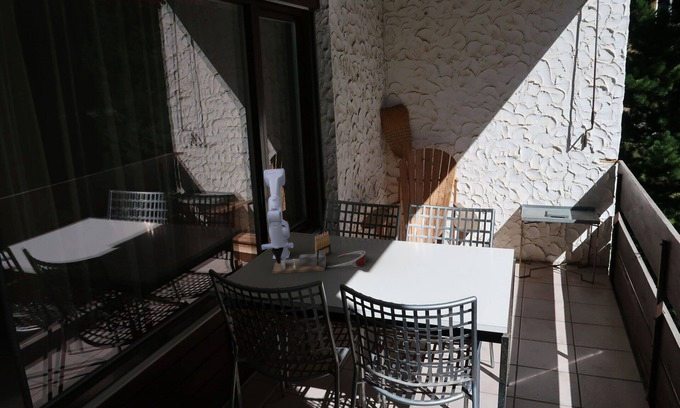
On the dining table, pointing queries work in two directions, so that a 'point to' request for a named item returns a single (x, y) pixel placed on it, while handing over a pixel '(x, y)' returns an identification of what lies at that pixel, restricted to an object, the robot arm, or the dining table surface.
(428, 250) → the dining table surface
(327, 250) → the ammunition clip
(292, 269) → the frame
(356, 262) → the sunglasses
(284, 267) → the grey angular piece
